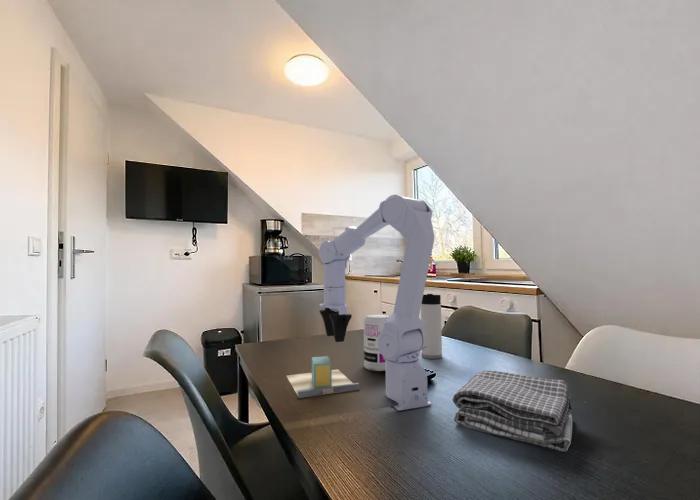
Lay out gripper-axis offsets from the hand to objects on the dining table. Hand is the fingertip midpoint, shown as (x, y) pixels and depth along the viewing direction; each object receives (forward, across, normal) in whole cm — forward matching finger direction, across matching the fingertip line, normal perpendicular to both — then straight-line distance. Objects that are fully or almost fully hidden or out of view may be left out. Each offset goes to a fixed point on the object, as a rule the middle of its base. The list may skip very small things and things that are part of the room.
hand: (335, 338), depth 92 cm
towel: (+10, +38, +23) cm, 45 cm away
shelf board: (+10, +6, -6) cm, 13 cm away
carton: (+9, +8, -6) cm, 14 cm away
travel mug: (+10, -7, +34) cm, 36 cm away
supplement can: (+10, -1, +13) cm, 16 cm away
